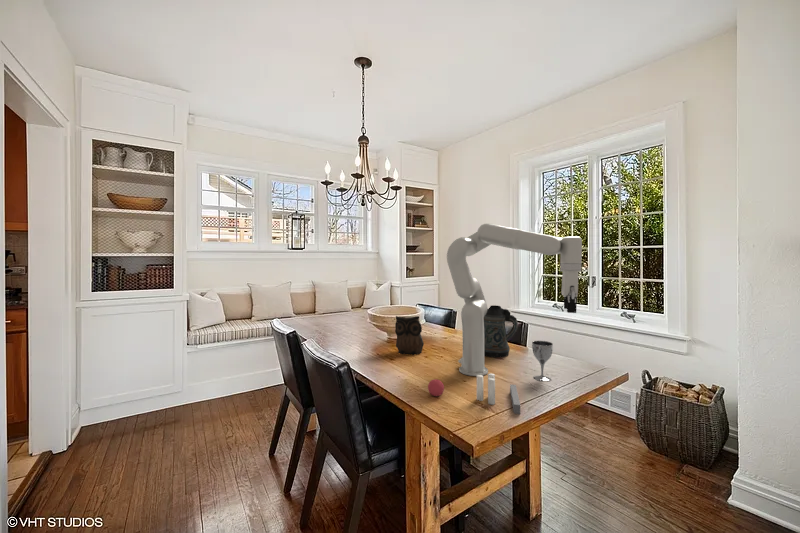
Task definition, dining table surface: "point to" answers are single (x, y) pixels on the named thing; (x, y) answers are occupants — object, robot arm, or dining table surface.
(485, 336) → the beer stein
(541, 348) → the wine glass
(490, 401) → the back right pin
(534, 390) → the dining table surface
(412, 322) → the owl
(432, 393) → the ball
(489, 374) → the back left pin
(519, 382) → the dining table surface
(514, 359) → the dining table surface
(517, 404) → the back wall
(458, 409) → the dining table surface
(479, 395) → the front pin
